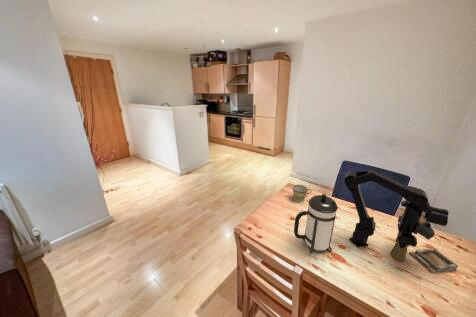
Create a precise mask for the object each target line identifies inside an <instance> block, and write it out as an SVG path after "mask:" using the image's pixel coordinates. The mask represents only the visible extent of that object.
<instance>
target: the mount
mask: <svg viewBox="0 0 476 317" xmlns="http://www.w3.org/2000/svg"><path fill="white" fill-rule="evenodd" d="M408 255H409V256H410V257H412V258H413V259H414V260H415V261H417V262H418V263H419V264H420V265H421V266H422V267H423V268H425V269H426V270H427V271H428V272H429V273H431V274H438V273H445V272H454V271H457V269H458V267H459V265H458V264H457V263H455V262H453V261H452V260H451V259H450V258H448V257H447V256H446V255H444V254H443V253H442V252H440V251H438V249H436V248H433V247H432V248H424V249H415V251H409V252H408Z"/></svg>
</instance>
